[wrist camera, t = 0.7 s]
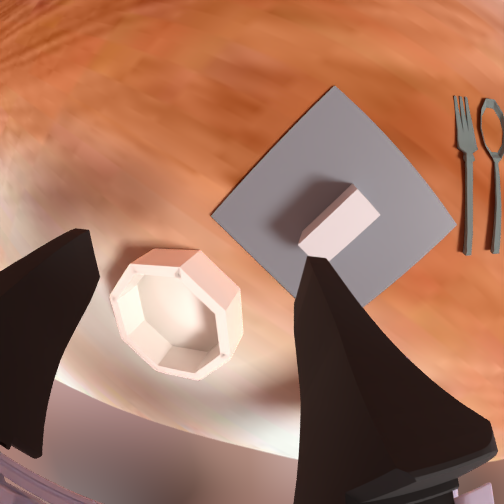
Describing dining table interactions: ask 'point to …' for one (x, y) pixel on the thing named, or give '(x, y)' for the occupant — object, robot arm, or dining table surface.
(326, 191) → the lid
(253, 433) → the dining table surface
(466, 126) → the cutlery set
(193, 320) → the bowl
